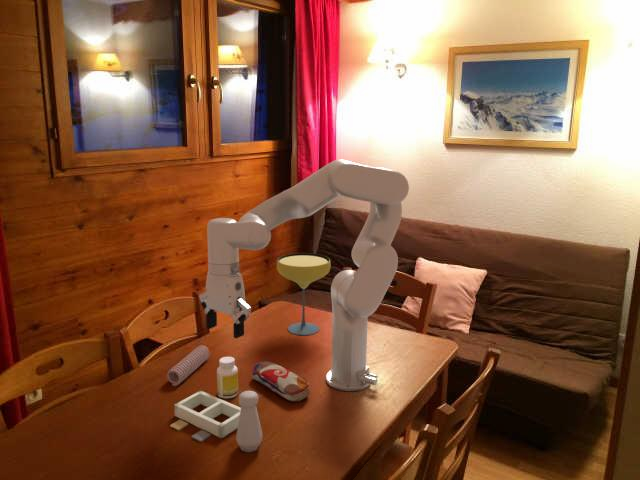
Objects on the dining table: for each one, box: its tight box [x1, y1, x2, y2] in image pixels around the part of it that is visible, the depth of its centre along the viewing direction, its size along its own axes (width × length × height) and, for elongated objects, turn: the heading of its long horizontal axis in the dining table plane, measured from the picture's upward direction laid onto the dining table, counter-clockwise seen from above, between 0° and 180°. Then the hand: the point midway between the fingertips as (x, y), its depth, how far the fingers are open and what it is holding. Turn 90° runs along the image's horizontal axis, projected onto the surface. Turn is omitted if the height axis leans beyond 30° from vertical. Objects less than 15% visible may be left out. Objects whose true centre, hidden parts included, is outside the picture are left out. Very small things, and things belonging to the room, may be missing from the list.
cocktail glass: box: [276, 252, 332, 336], centre depth 180 cm, size 18×18×25 cm
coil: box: [166, 344, 210, 387], centre depth 152 cm, size 5×5×18 cm
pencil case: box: [251, 361, 311, 403], centre depth 143 cm, size 11×20×5 cm, turn 27°
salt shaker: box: [235, 390, 263, 453], centre depth 116 cm, size 6×6×13 cm
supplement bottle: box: [216, 356, 239, 399], centre depth 139 cm, size 5×5×10 cm
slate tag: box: [191, 429, 212, 443], centre depth 121 cm, size 3×3×1 cm
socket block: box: [173, 390, 241, 439], centre depth 128 cm, size 16×8×3 cm, turn 55°
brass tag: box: [169, 419, 189, 432], centre depth 125 cm, size 3×3×1 cm
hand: (225, 331), depth 136 cm, fingers open, 9 cm apart
